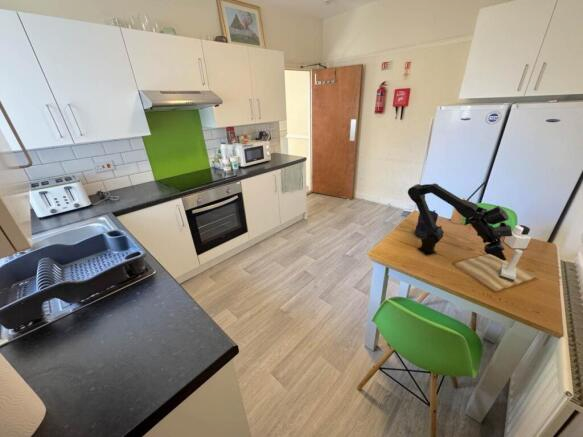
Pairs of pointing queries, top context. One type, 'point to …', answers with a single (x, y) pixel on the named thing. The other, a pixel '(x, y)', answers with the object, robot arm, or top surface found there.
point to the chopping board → (492, 272)
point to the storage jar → (421, 227)
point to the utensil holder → (457, 216)
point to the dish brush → (510, 267)
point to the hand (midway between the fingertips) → (504, 254)
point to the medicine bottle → (518, 237)
